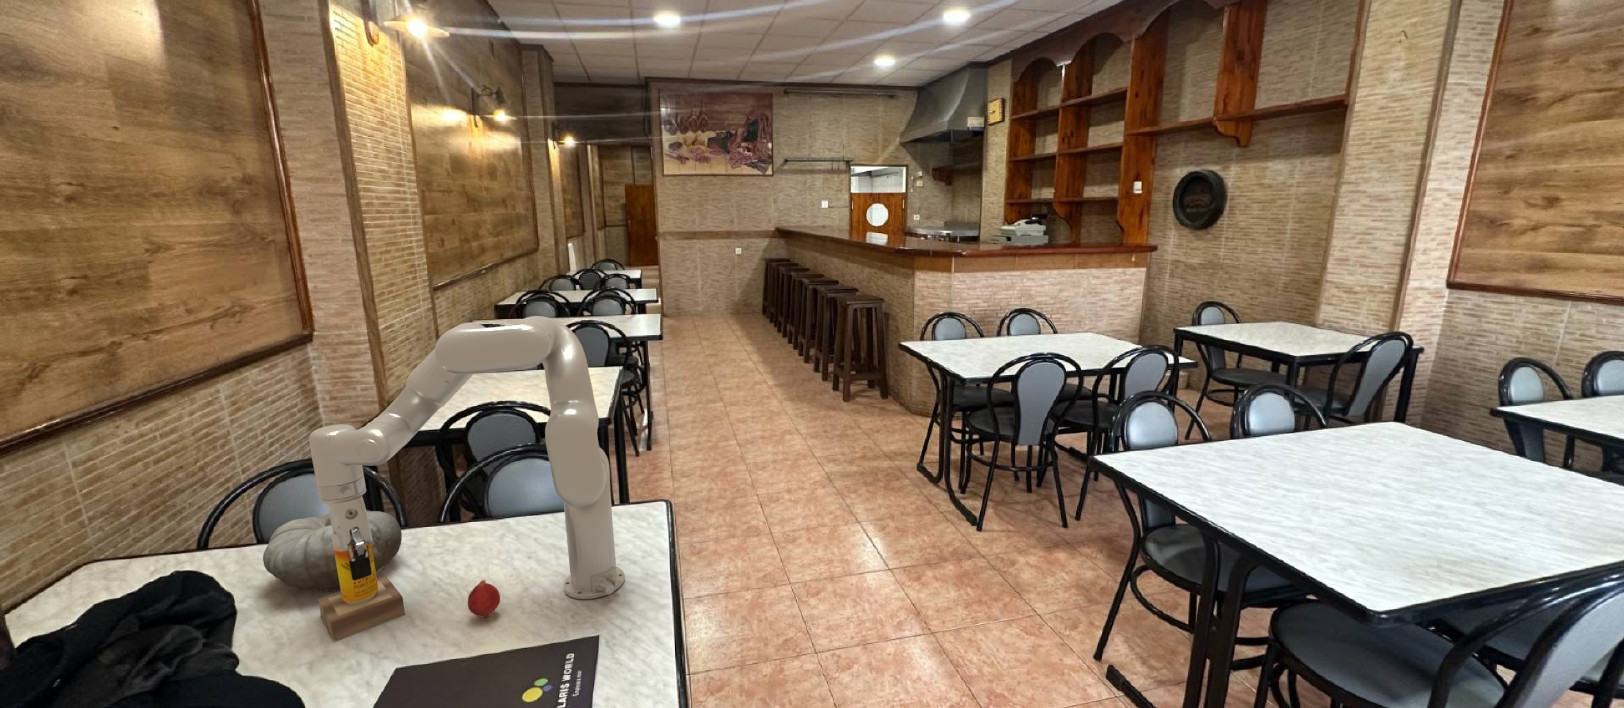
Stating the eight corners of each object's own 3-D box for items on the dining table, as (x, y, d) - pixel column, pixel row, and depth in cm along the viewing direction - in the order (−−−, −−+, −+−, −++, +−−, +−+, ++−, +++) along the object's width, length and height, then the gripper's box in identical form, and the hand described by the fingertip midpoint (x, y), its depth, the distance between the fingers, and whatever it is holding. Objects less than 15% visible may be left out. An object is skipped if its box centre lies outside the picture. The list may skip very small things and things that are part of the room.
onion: (470, 628, 130) (465, 591, 128) (469, 613, 135) (465, 577, 133) (502, 619, 133) (498, 583, 131) (501, 605, 138) (496, 570, 136)
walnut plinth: (405, 614, 135) (402, 596, 134) (334, 641, 127) (331, 622, 126) (388, 592, 143) (385, 575, 142) (321, 616, 135) (317, 598, 134)
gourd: (333, 605, 134) (316, 522, 133) (239, 612, 140) (222, 532, 139) (430, 557, 158) (416, 486, 157) (346, 564, 164) (332, 496, 163)
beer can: (361, 607, 131) (349, 536, 128) (335, 604, 132) (322, 534, 129) (386, 590, 136) (375, 522, 133) (361, 588, 138) (350, 520, 135)
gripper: (376, 494, 126) (389, 576, 130) (354, 472, 138) (366, 548, 141) (328, 506, 121) (343, 592, 124) (309, 482, 133) (324, 561, 136)
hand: (356, 568), depth 133 cm, fingers open, 9 cm apart
